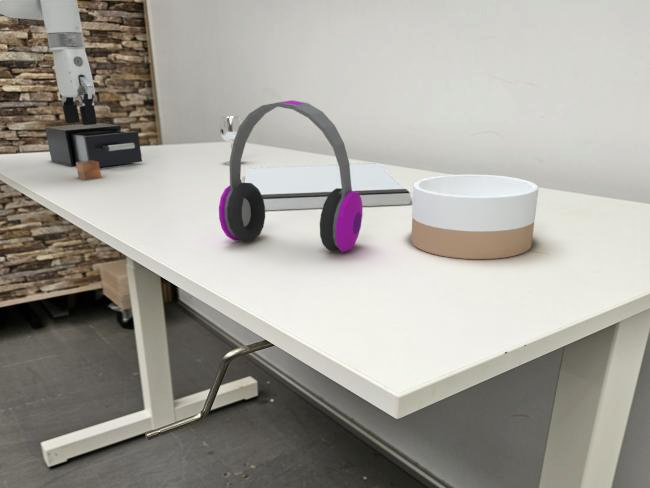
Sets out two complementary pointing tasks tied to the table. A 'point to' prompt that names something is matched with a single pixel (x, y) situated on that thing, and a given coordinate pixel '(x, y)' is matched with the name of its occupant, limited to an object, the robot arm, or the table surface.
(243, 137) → the headphones
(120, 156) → the black drawer
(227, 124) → the wineglass
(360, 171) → the pale grey flat slab
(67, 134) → the drawer box
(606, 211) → the table surface
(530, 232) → the bowl
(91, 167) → the block
